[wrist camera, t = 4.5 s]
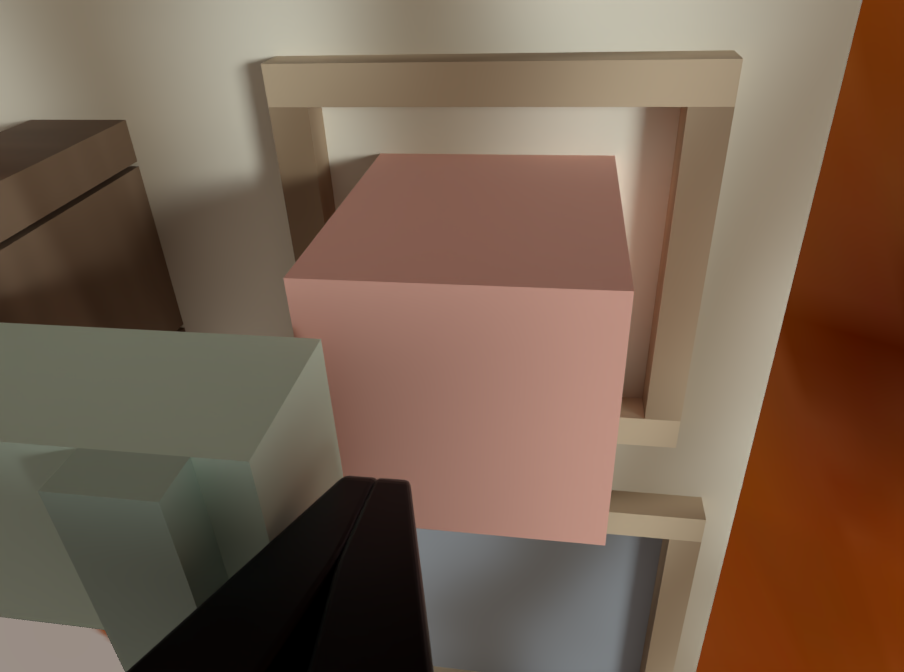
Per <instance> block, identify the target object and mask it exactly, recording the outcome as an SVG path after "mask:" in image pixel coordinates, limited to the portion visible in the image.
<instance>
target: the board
mask: <svg viewBox="0 0 904 672" xmlns="http://www.w3.org/2000/svg"><path fill="white" fill-rule="evenodd" d="M861 3H862V0H0V323H20V324H40V325H59V326H79V327H98V328H118V329H138V330H157V331H177V332H197V333H216V334H236V335H255V336H275V337H294V333H293V328H292V322H291V317H290V312H289V306H288V301H287V295H286V290H285V285H284V279H283V278H284V277H285V275H286V274H287V273H288V271H289V270H290V269H291V268H292V266H293V265H294V264H295V262H296V261H297V260H298V259H299V257H300V256H301V255H302V253H303V252H304V251H305V250H306V248H307V247H308V246H309V244H310V243H311V242H312V241H313V239H314V238H315V237H316V235H317V234H318V233H319V232H320V230H321V229H322V228H323V226H324V225H325V224H326V223H327V221H328V220H329V219H330V217H331V216H332V215H333V214H334V212H335V211H336V210H337V208H338V207H339V206H340V205H341V203H342V202H343V201H344V200H345V198H346V197H347V196H348V194H349V193H350V192H351V191H352V189H353V188H354V187H355V185H356V184H357V183H358V182H359V180H360V179H361V178H362V176H363V175H364V174H365V173H366V171H367V170H368V169H369V167H370V166H371V165H372V164H373V162H374V161H375V160H376V158H377V157H378V156H379V155H380V153H387V154H496V155H605V156H615V161H616V168H617V175H618V182H619V189H620V196H621V203H622V210H623V217H624V224H625V231H626V238H627V245H628V252H629V259H630V266H631V273H632V280H633V287H634V297H633V306H632V315H631V323H630V332H629V341H628V350H627V359H626V367H625V376H624V385H623V394H622V403H621V411H620V420H619V429H618V438H617V447H616V455H615V464H614V473H613V482H612V491H611V499H610V508H609V517H608V526H607V535H606V543H605V545H594V544H583V543H572V542H561V541H550V540H539V539H528V538H517V537H506V536H495V535H484V534H473V533H463V532H452V531H441V530H430V529H419V528H416V531H417V539H418V548H419V556H420V564H421V572H422V580H423V588H424V596H425V604H426V612H427V620H428V628H429V636H430V644H431V652H432V660H433V668H434V672H696V668H697V664H698V660H699V656H700V652H701V648H702V644H703V640H704V636H705V632H706V628H707V624H708V620H709V616H710V612H711V608H712V604H713V600H714V596H715V592H716V588H717V584H718V580H719V576H720V572H721V568H722V564H723V560H724V556H725V552H726V547H727V543H728V539H729V535H730V531H731V527H732V523H733V519H734V515H735V511H736V507H737V503H738V499H739V495H740V491H741V487H742V483H743V479H744V475H745V471H746V467H747V463H748V459H749V455H750V451H751V447H752V443H753V439H754V435H755V431H756V427H757V422H758V418H759V414H760V410H761V406H762V402H763V398H764V394H765V390H766V386H767V382H768V378H769V374H770V370H771V366H772V362H773V358H774V354H775V350H776V346H777V342H778V338H779V334H780V330H781V326H782V322H783V318H784V314H785V310H786V306H787V301H788V297H789V293H790V289H791V285H792V281H793V277H794V273H795V269H796V265H797V261H798V257H799V253H800V249H801V245H802V241H803V237H804V233H805V229H806V225H807V221H808V217H809V213H810V209H811V205H812V201H813V197H814V193H815V189H816V185H817V181H818V176H819V172H820V168H821V164H822V160H823V156H824V152H825V148H826V144H827V140H828V136H829V132H830V128H831V124H832V120H833V116H834V112H835V108H836V104H837V100H838V96H839V92H840V88H841V84H842V80H843V76H844V72H845V68H846V64H847V60H848V56H849V51H850V47H851V43H852V39H853V35H854V31H855V27H856V23H857V19H858V15H859V11H860V7H861Z"/></svg>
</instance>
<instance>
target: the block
mask: <svg viewBox="0 0 904 672" xmlns="http://www.w3.org/2000/svg"><path fill="white" fill-rule="evenodd" d="M283 279H284V285H285V290H286V295H287V301H288V306H289V312H290V317H291V322H292V328H293V333H294V337H295V338H314V339H321V342H322V348H323V354H324V361H325V367H326V373H327V379H328V385H329V391H330V397H331V404H332V410H333V416H334V422H335V428H336V434H337V440H338V446H339V453H340V459H341V465H342V471H343V477H345V476H362V477H373V478H376V479H379V478H389V479H402V480H407V481H409V483H410V485H411V491H412V499H413V507H414V515H415V523H416V528H419V529H430V530H441V531H452V532H463V533H473V534H484V535H495V536H506V537H517V538H528V539H539V540H550V541H561V542H572V543H583V544H594V545H605V543H606V535H607V526H608V517H609V508H610V499H611V491H612V482H613V473H614V464H615V455H616V447H617V438H618V429H619V420H620V411H621V403H622V394H623V385H624V376H625V367H626V359H627V350H628V341H629V332H630V323H631V315H632V306H633V297H634V287H633V280H632V273H631V266H630V259H629V252H628V245H627V238H626V231H625V224H624V217H623V210H622V203H621V196H620V189H619V182H618V175H617V168H616V161H615V156H605V155H496V154H387V153H380V155H379V156H378V157H377V158H376V160H375V161H374V162H373V164H372V165H371V166H370V167H369V169H368V170H367V171H366V173H365V174H364V175H363V176H362V178H361V179H360V180H359V182H358V183H357V184H356V185H355V187H354V188H353V189H352V191H351V192H350V193H349V194H348V196H347V197H346V198H345V200H344V201H343V202H342V203H341V205H340V206H339V207H338V208H337V210H336V211H335V212H334V214H333V215H332V216H331V217H330V219H329V220H328V221H327V223H326V224H325V225H324V226H323V228H322V229H321V230H320V232H319V233H318V234H317V235H316V237H315V238H314V239H313V241H312V242H311V243H310V244H309V246H308V247H307V248H306V250H305V251H304V252H303V253H302V255H301V256H300V257H299V259H298V260H297V261H296V262H295V264H294V265H293V266H292V268H291V269H290V270H289V271H288V273H287V274H286V275H285V277H284V278H283Z"/></svg>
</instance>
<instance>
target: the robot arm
mask: <svg viewBox="0 0 904 672" xmlns="http://www.w3.org/2000/svg"><path fill="white" fill-rule="evenodd" d="M126 672H434V668H433V660H432V652H431V644H430V636H429V628H428V620H427V612H426V604H425V596H424V588H423V580H422V572H421V564H420V556H419V548H418V539H417V531H416V523H415V515H414V507H413V499H412V491H411V485H410V483H409V481H407V480H402V479H389V478H379V479H376V478H373V477H362V476H345V477H343V478H341V479H339V480H338V481H337V482H336V483H335V484H334V485H333V486H332V487H331V488H329V489H328V490H327V491H326V492H325V493H324V494H323V495H322V496H321V497H319V498H318V499H317V500H316V501H315V502H314V503H313V504H312V505H311V506H309V507H308V508H307V509H306V510H305V511H304V512H303V513H302V514H301V515H299V516H298V517H297V518H296V519H295V520H294V521H293V522H292V523H291V524H289V525H288V526H287V527H286V528H285V529H284V530H283V531H282V532H281V533H279V534H278V535H277V536H276V537H275V538H274V539H273V540H272V541H271V542H270V543H268V544H267V545H266V546H265V547H264V548H263V549H262V550H261V551H260V552H258V553H257V554H256V555H255V556H254V557H253V558H252V559H251V560H250V561H248V562H247V563H246V564H245V565H244V566H243V567H242V568H241V569H240V570H238V571H237V572H236V573H235V574H234V575H233V576H232V577H231V578H230V579H228V580H227V581H226V582H225V583H224V584H223V585H222V586H221V587H220V588H218V589H217V590H216V591H215V592H214V593H213V594H212V595H211V596H210V597H209V598H207V599H206V600H205V601H204V602H203V603H202V604H201V605H200V606H199V607H197V608H196V609H195V610H194V611H193V612H192V613H191V614H190V615H189V616H187V617H186V618H185V619H184V620H183V621H182V622H181V623H180V624H179V625H177V626H176V627H175V628H174V629H173V630H172V631H171V632H170V633H169V634H167V635H166V636H165V637H164V638H163V639H162V640H161V641H160V642H159V643H158V644H156V645H155V646H154V647H153V648H152V649H151V650H150V651H149V652H148V653H146V654H145V655H144V656H143V657H142V658H141V659H140V660H139V661H138V662H136V663H135V664H134V665H133V666H132V667H131V668H130V669H129V670H128V671H126Z"/></svg>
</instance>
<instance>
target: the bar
mask: <svg viewBox="0 0 904 672" xmlns="http://www.w3.org/2000/svg"><path fill="white" fill-rule="evenodd" d="M341 478H343V471H342V465H341V459H340V453H339V446H338V440H337V434H336V428H335V422H334V416H333V410H332V404H331V397H330V391H329V385H328V379H327V373H326V367H325V361H324V354H323V348H322V342H321V339H314V338H295V337H275V336H255V335H236V334H216V333H197V332H177V331H157V330H138V329H118V328H98V327H79V326H59V325H40V324H20V323H0V617H5V618H13V619H22V620H30V621H38V622H46V623H54V624H62V625H71V626H79V627H87V628H95V629H103V630H105V631H106V633H107V635H108V638H109V640H110V642H111V644H112V646H113V648H114V650H115V652H116V654H117V656H118V658H119V660H120V662H121V664H122V666H123V669H124V670H125V672H126V671H128V670H129V669H130V668H131V667H132V666H133V665H134V664H135V663H136V662H138V661H139V660H140V659H141V658H142V657H143V656H144V655H145V654H146V653H148V652H149V651H150V650H151V649H152V648H153V647H154V646H155V645H156V644H158V643H159V642H160V641H161V640H162V639H163V638H164V637H165V636H166V635H167V634H169V633H170V632H171V631H172V630H173V629H174V628H175V627H176V626H177V625H179V624H180V623H181V622H182V621H183V620H184V619H185V618H186V617H187V616H189V615H190V614H191V613H192V612H193V611H194V610H195V609H196V608H197V607H199V606H200V605H201V604H202V603H203V602H204V601H205V600H206V599H207V598H209V597H210V596H211V595H212V594H213V593H214V592H215V591H216V590H217V589H218V588H220V587H221V586H222V585H223V584H224V583H225V582H226V581H227V580H228V579H230V578H231V577H232V576H233V575H234V574H235V573H236V572H237V571H238V570H240V569H241V568H242V567H243V566H244V565H245V564H246V563H247V562H248V561H250V560H251V559H252V558H253V557H254V556H255V555H256V554H257V553H258V552H260V551H261V550H262V549H263V548H264V547H265V546H266V545H267V544H268V543H270V542H271V541H272V540H273V539H274V538H275V537H276V536H277V535H278V534H279V533H281V532H282V531H283V530H284V529H285V528H286V527H287V526H288V525H289V524H291V523H292V522H293V521H294V520H295V519H296V518H297V517H298V516H299V515H301V514H302V513H303V512H304V511H305V510H306V509H307V508H308V507H309V506H311V505H312V504H313V503H314V502H315V501H316V500H317V499H318V498H319V497H321V496H322V495H323V494H324V493H325V492H326V491H327V490H328V489H329V488H331V487H332V486H333V485H334V484H335V483H336V482H337V481H338V480H339V479H341Z"/></svg>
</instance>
